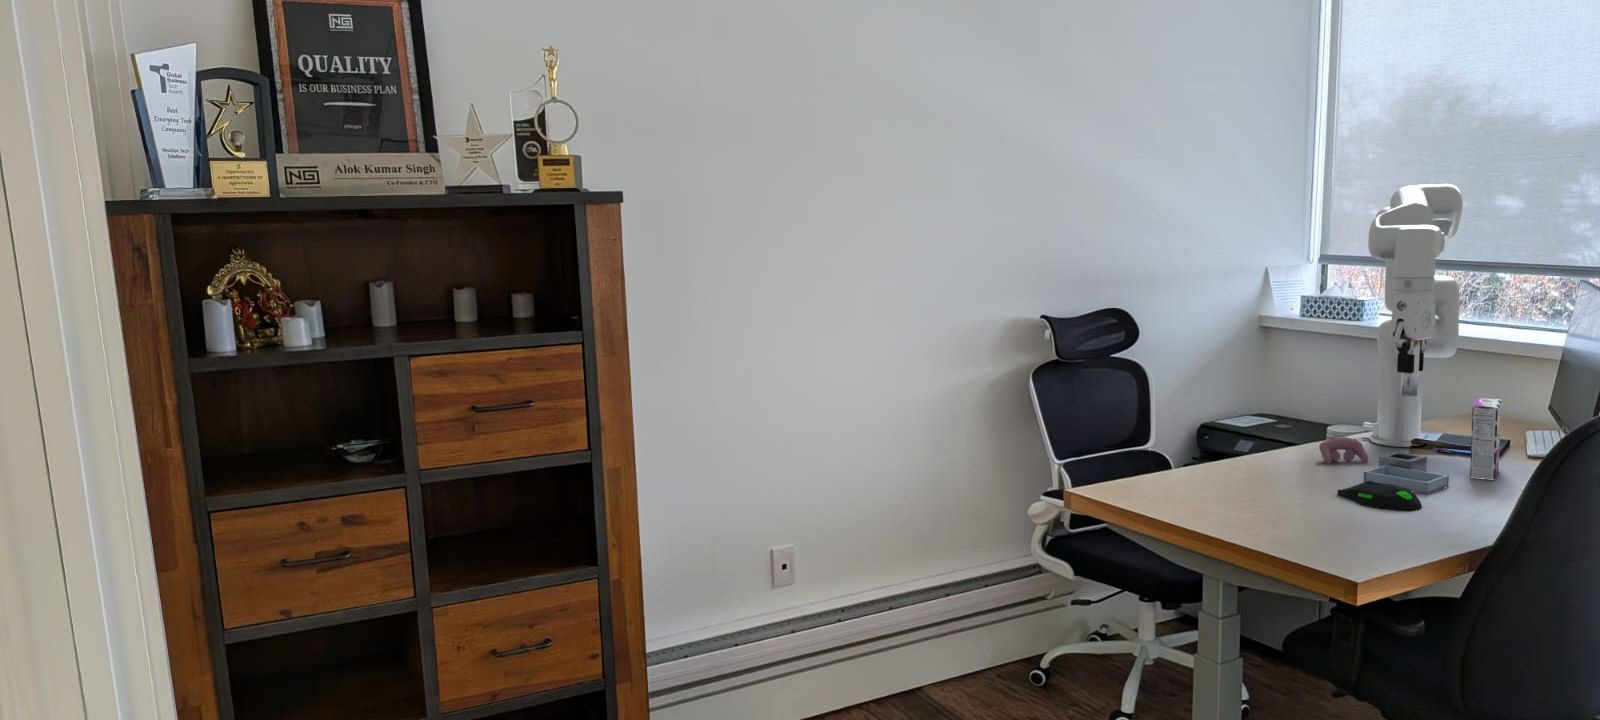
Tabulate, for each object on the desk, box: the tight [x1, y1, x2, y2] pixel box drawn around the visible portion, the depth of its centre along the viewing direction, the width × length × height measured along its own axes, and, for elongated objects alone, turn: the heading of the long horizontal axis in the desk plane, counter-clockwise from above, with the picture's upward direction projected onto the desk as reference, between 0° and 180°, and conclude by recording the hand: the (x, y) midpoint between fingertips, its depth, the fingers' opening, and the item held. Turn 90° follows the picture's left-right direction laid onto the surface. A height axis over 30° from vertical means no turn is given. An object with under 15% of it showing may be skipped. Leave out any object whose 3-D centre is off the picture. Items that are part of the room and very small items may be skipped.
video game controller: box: [1318, 436, 1369, 465], centre depth 246 cm, size 10×5×7 cm, turn 85°
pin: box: [1401, 336, 1424, 396], centre depth 220 cm, size 5×5×13 cm
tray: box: [1362, 465, 1450, 495], centre depth 223 cm, size 13×9×2 cm
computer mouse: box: [1336, 481, 1423, 512], centre depth 212 cm, size 11×16×4 cm
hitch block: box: [1378, 451, 1428, 472], centre depth 232 cm, size 7×7×4 cm
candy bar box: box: [1469, 397, 1502, 480], centre depth 229 cm, size 11×5×16 cm, turn 143°
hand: (1410, 370), depth 220 cm, fingers closed on pin, 3 cm apart
